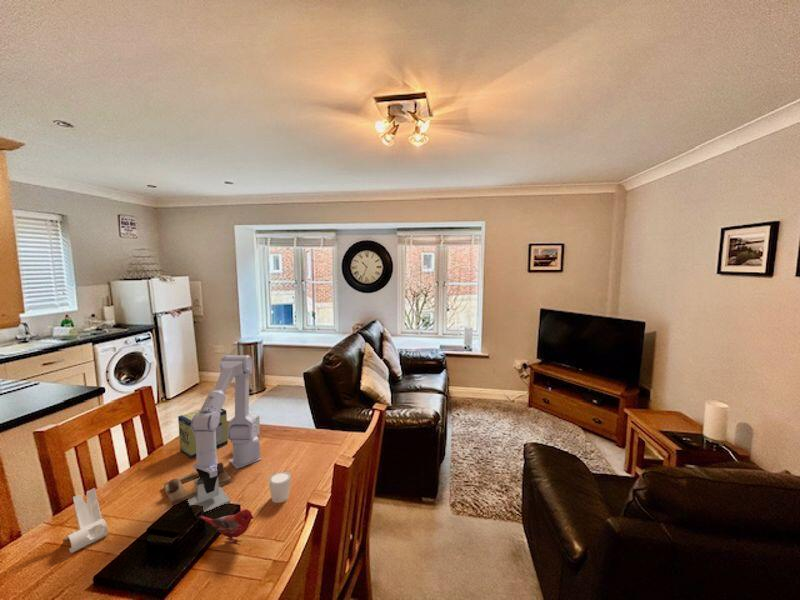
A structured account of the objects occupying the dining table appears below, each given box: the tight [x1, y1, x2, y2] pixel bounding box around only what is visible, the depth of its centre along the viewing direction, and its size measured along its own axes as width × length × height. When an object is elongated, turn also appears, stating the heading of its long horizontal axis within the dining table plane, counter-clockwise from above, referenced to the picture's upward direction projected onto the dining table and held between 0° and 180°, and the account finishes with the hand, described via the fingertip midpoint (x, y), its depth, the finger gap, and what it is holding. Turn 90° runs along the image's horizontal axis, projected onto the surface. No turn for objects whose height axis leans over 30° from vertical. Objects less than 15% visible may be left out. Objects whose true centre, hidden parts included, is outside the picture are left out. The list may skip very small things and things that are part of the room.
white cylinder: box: [268, 471, 291, 504], centre depth 112 cm, size 7×7×7 cm
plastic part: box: [63, 487, 109, 554], centre depth 95 cm, size 8×10×12 cm
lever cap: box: [193, 477, 219, 504], centre depth 109 cm, size 6×4×6 cm, turn 135°
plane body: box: [163, 462, 232, 507], centre depth 119 cm, size 18×13×4 cm
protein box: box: [177, 407, 229, 460], centre depth 144 cm, size 10×16×16 cm
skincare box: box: [249, 414, 261, 442], centre depth 148 cm, size 6×4×12 cm
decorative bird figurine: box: [198, 508, 255, 543], centre depth 94 cm, size 3×18×10 cm, turn 80°
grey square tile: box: [186, 486, 231, 512], centre depth 110 cm, size 10×10×1 cm
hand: (208, 488), depth 109 cm, fingers closed on lever cap, 4 cm apart
